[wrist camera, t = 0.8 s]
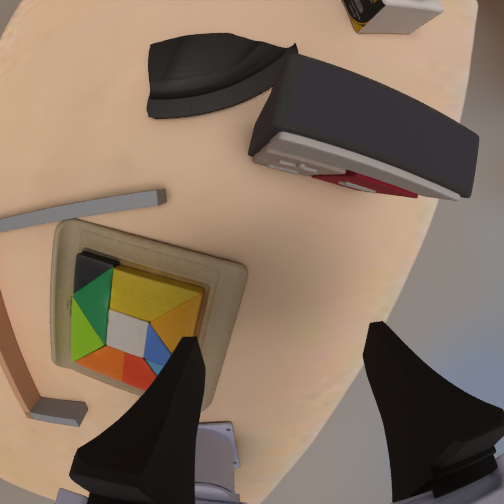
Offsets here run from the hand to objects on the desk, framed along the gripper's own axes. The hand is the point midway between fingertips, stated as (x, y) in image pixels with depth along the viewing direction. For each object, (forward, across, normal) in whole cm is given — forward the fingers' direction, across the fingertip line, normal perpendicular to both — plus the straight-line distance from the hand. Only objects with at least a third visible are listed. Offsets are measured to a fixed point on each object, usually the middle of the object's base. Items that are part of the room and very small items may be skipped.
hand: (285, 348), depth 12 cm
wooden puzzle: (+14, +14, +10) cm, 21 cm away
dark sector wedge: (+20, +4, -12) cm, 24 cm away
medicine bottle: (+24, -13, -20) cm, 34 cm away
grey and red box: (+18, -4, -4) cm, 19 cm away
